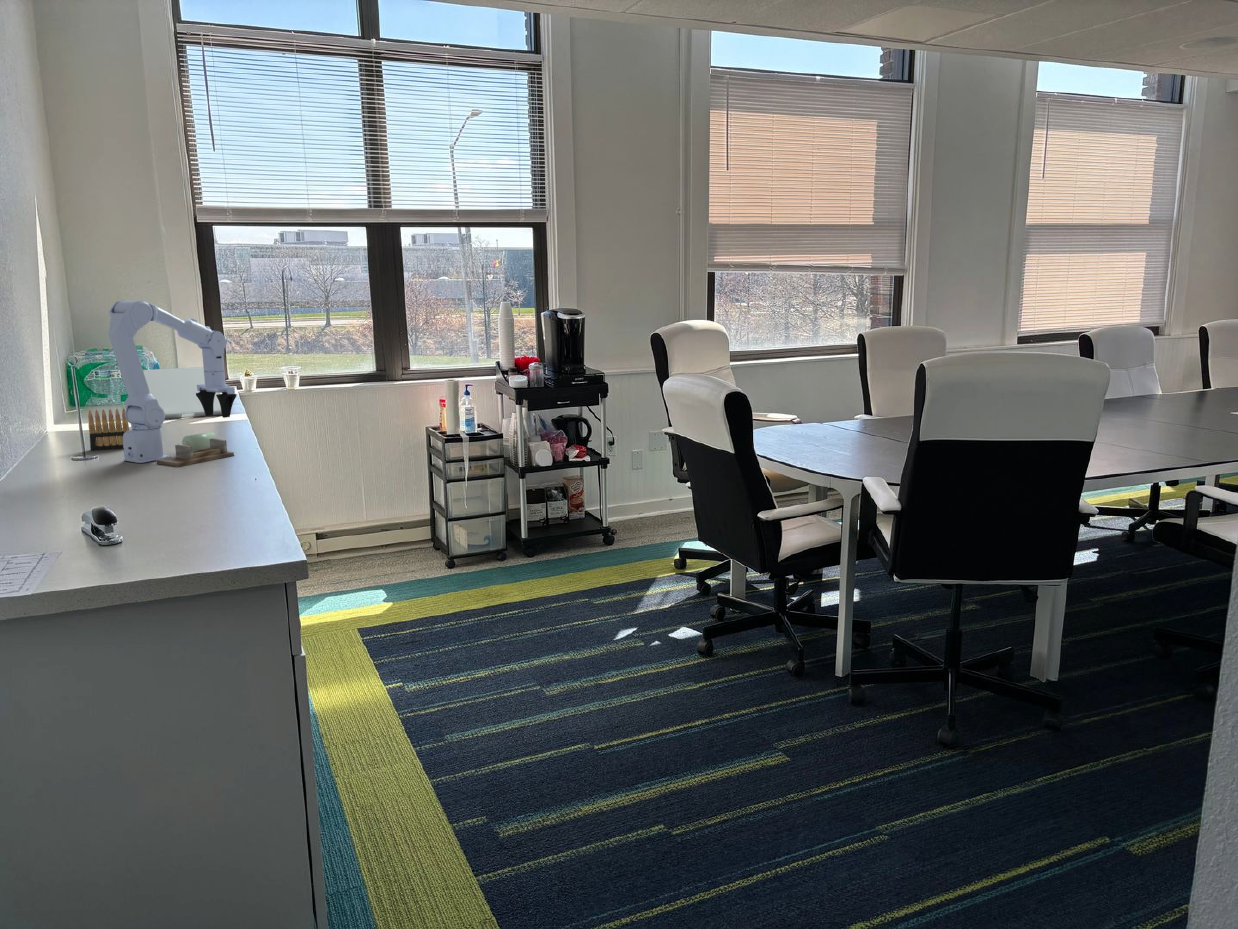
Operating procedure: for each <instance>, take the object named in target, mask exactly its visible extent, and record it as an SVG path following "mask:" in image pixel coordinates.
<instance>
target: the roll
mask: <svg viewBox="0 0 1238 929" xmlns="http://www.w3.org/2000/svg"><path fill="white" fill-rule="evenodd" d="M209 439H218V437H217V435H216V434H215V433H214V432H212V431H208V432H202V433H197V434H190V435H185V436H184V437H183V438H182V441H181V443H182V444H181V445H185V446H192V448H193V451H194V450H200V449H205V448H210V440H209Z"/></svg>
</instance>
